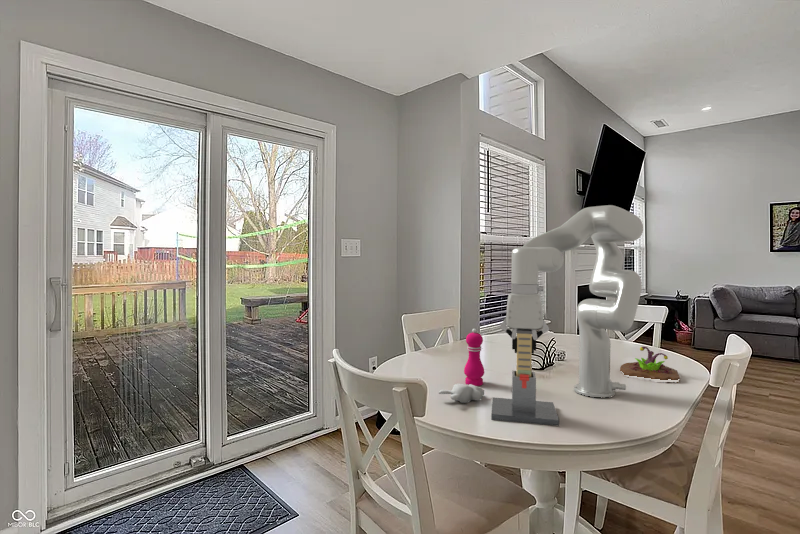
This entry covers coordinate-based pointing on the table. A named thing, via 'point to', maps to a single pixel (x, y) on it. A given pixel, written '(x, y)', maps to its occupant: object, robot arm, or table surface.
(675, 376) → the plant
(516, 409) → the sleeve
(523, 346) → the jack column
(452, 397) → the grey toy animal
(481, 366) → the pepper mill
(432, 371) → the table surface
